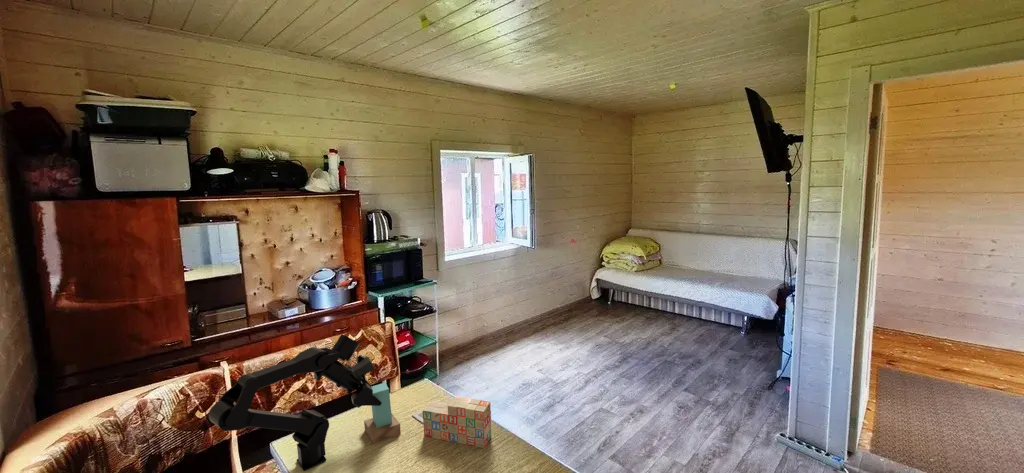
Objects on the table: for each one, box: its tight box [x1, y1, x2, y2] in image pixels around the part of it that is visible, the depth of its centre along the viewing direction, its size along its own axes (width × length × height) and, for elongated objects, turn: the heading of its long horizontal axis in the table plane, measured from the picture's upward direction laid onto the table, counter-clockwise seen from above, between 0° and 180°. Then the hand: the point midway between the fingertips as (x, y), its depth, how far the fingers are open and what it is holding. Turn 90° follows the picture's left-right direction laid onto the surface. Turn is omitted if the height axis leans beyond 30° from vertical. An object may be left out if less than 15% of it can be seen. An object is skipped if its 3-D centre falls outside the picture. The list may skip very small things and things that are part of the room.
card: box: [411, 409, 424, 424], centre depth 152 cm, size 10×7×1 cm
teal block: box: [371, 382, 392, 428], centre depth 140 cm, size 5×5×12 cm
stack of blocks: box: [422, 395, 492, 449], centre depth 137 cm, size 21×6×12 cm, turn 72°
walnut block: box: [363, 412, 401, 445], centre depth 141 cm, size 9×9×4 cm
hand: (377, 397), depth 139 cm, fingers open, 9 cm apart
